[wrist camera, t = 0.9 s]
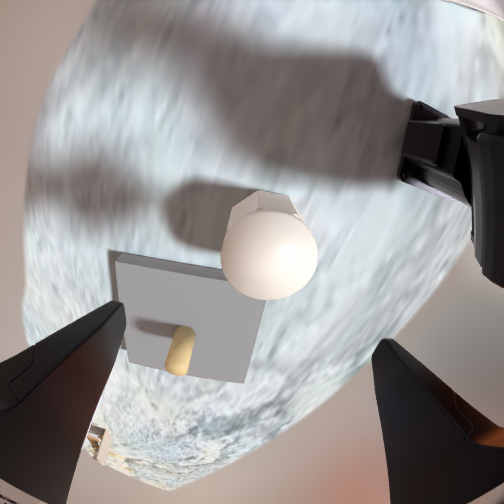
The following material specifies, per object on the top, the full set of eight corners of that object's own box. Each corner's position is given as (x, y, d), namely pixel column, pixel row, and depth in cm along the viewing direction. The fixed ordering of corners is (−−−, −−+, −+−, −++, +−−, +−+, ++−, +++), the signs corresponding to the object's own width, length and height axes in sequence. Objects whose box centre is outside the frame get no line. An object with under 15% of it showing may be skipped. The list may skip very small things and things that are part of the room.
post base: (268, 276, 21) (272, 323, 16) (244, 372, 27) (242, 416, 22) (122, 252, 20) (91, 289, 16) (133, 352, 26) (117, 391, 21)
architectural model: (98, 433, 39) (89, 460, 33) (89, 419, 36) (78, 449, 30) (113, 438, 40) (104, 466, 33) (105, 424, 37) (95, 456, 30)
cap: (311, 198, 19) (329, 223, 14) (293, 265, 21) (303, 305, 16) (234, 184, 18) (227, 205, 14) (223, 254, 20) (215, 292, 16)
